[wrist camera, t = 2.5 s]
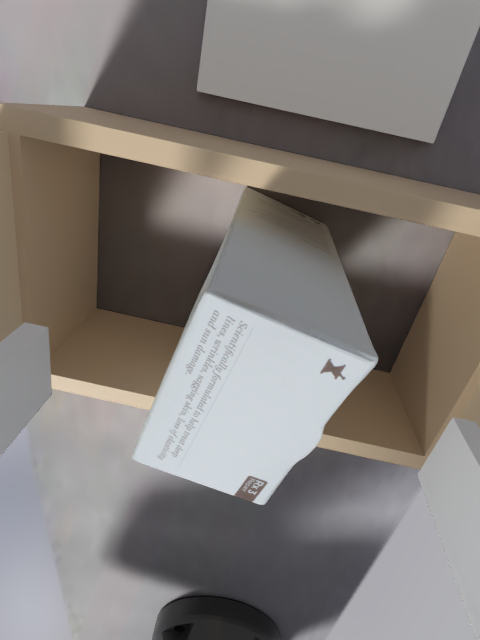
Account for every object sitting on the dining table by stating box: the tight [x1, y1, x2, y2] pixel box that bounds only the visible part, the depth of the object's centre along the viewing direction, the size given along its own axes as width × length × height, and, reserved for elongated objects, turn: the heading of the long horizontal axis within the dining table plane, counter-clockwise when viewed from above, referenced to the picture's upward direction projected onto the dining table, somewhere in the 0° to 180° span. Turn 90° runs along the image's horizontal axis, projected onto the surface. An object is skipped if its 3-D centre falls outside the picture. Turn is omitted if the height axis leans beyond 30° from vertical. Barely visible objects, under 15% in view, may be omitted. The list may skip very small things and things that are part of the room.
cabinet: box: [0, 103, 480, 470], centre depth 20 cm, size 14×24×14 cm, turn 79°
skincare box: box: [132, 187, 378, 505], centre depth 19 cm, size 8×6×15 cm
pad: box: [196, 0, 480, 144], centre depth 19 cm, size 10×13×1 cm
